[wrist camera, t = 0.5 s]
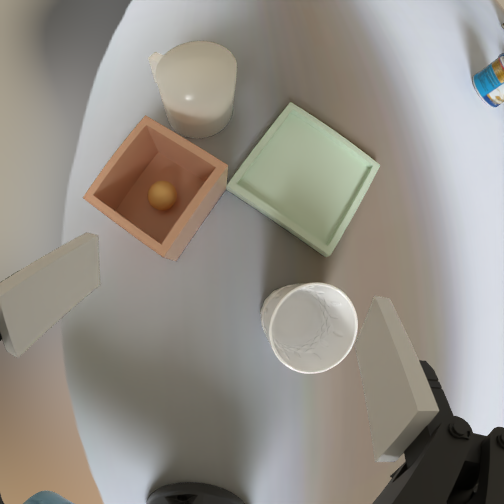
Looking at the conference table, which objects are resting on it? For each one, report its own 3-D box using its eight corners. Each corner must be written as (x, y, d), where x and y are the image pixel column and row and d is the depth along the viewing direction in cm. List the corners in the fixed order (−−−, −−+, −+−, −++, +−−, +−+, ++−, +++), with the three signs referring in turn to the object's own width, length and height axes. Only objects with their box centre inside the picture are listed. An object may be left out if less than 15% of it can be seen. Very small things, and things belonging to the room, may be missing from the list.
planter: (176, 261, 33) (163, 257, 25) (110, 214, 33) (82, 197, 25) (226, 189, 35) (228, 165, 27) (159, 146, 34) (145, 115, 26)
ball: (167, 218, 33) (162, 212, 29) (145, 203, 33) (138, 196, 29) (184, 195, 33) (180, 187, 30) (162, 180, 33) (156, 171, 30)
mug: (206, 150, 35) (203, 113, 26) (140, 111, 34) (123, 71, 25) (245, 103, 36) (253, 60, 27) (180, 69, 35) (174, 25, 26)
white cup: (251, 285, 34) (264, 288, 24) (317, 276, 35) (353, 276, 25) (258, 352, 34) (274, 381, 24) (323, 341, 35) (360, 363, 25)
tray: (325, 256, 35) (330, 256, 34) (226, 189, 35) (226, 185, 33) (374, 169, 37) (380, 165, 35) (287, 108, 36) (290, 101, 35)
